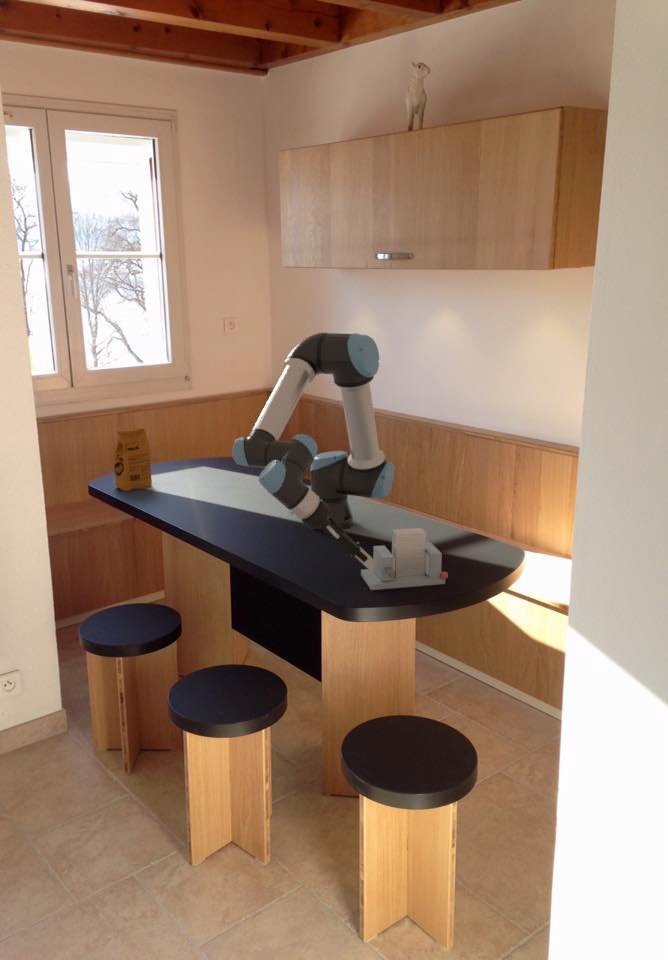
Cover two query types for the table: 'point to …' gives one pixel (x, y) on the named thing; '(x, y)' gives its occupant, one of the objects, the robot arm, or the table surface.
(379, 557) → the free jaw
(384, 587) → the vise
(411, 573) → the steel block
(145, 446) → the coffee package
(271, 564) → the table surface
